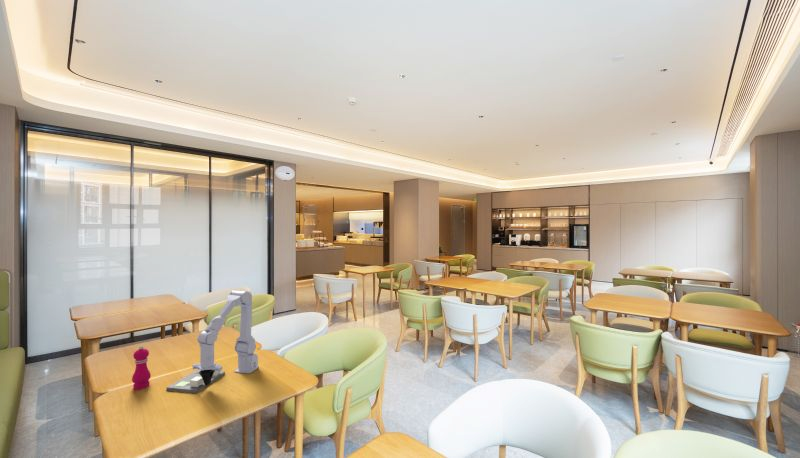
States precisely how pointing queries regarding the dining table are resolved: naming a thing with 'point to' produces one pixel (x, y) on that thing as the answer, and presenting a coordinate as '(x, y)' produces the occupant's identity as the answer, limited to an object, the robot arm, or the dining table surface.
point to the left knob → (196, 382)
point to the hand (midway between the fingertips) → (207, 384)
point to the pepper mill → (141, 369)
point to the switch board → (184, 383)
